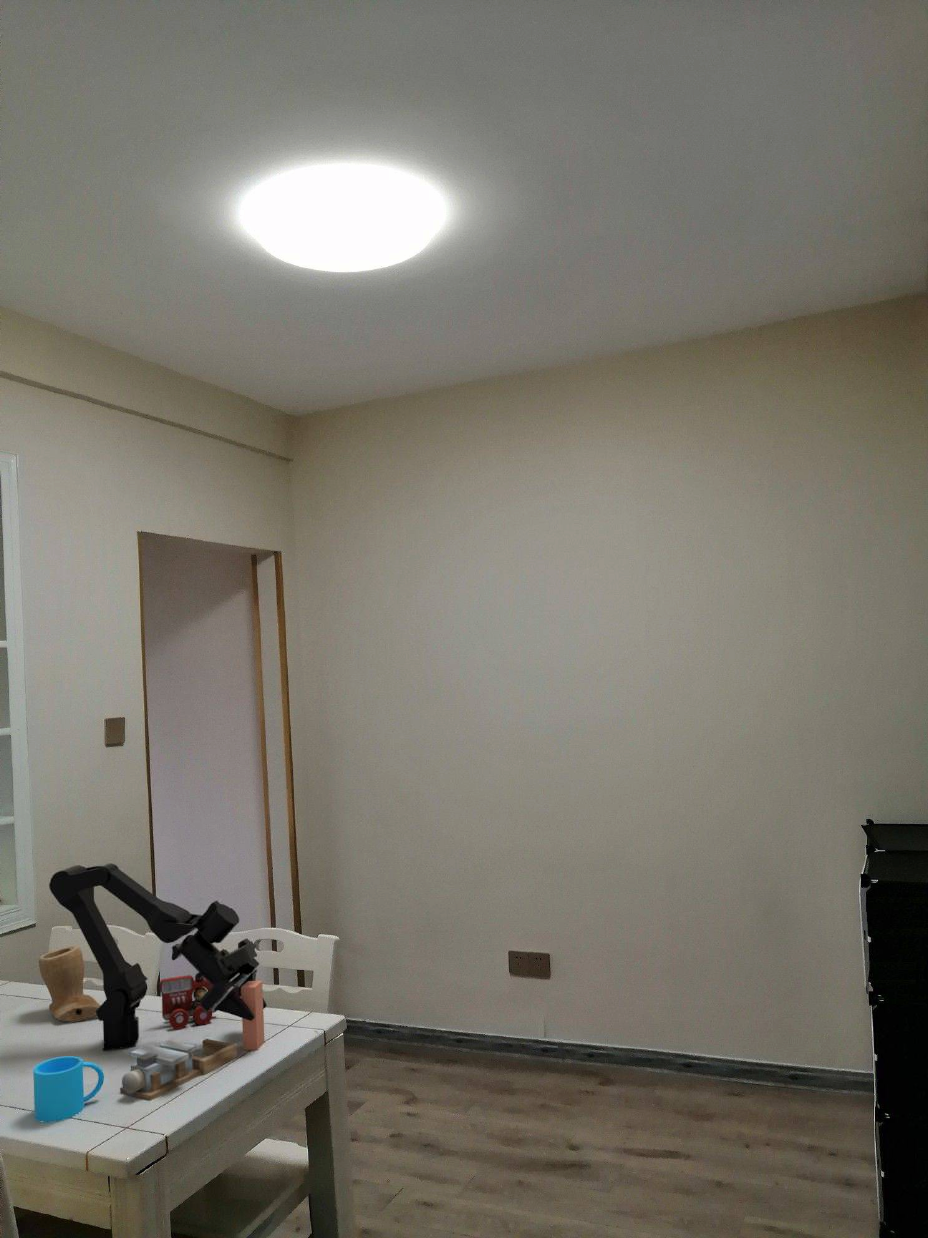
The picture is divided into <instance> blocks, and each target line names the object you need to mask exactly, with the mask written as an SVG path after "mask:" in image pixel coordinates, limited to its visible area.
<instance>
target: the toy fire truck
mask: <svg viewBox="0 0 928 1238" xmlns="http://www.w3.org/2000/svg"><path fill="white" fill-rule="evenodd" d="M198 973H199V972H198V971H197V973H196V974H195V975H194V977H193V976H192V975H189V974H188V975H187V974H186V975H182V976H181V975H180V976H176V977H169V978H167V977H166V978H162V979H161V980H160V981H159V982H158V983H159V989H158V990H159V993H161V1013H162V1014H161V1017H162V1019H163V1020H165V1021H168V1022H169V1025H170V1027H171V1028H173V1029H175V1030H182V1029H183V1028H185V1027H186V1026H187V1024H189V1019H190V1017H192V1018H193V1020H194V1022H195V1023H196V1024H198V1025H200V1026H203V1024H205V1025H206V1024H209V1023H210V1021H211V1020H212V1019H213V1014H214V1013H217V1011H215V1010H214V1009H215V1007H216V1006H217V1005H218V1004H217V1003H215V1005H214V1007H213V1008H212V1009H211V1010H210V1011H209V1012H207V1013H206V1012H205V1011H204V1010H203V1008H202V1007H201V1006H200V999H201V998H202V997H203V996H204V995H205V994H206V993H207V992H208V990H209V989H210V988H211V987H212V985H211V984H210V983H209V982H208V981H207V980H206V979H205V978H204V977H202V978H200V979H199V978H198V977H197V976H196V975H197V974H198ZM193 998H194V999H193ZM181 1028H182V1029H181Z"/></svg>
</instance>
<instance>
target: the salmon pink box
mask: <svg viewBox="0 0 928 1238" xmlns="http://www.w3.org/2000/svg"><path fill="white" fill-rule="evenodd" d="M263 993H264V992H263V981H262V980H256V981H248V982H247V983H245V984H244V985H243V986H242V987H241V999H242V1000H243V1001H244V1003H245V1004H246V1005H247V1006H248V1008H249V1009H250V1010H251V1012H252V1013H253V1015H254V1016H255V1018H254V1019H253V1020H252V1021H249V1020H247V1019H244V1018H241V1019H242V1021H241V1022H242V1023H241V1025H242V1049H244V1050H245V1051H252V1050H253V1051H258V1050H259V1049H260V1048H261V1047H262V1046H263V1044H265V1041H266V1040H265V1022H264V1021H265V1020H264V1018H265V1017H264V1009H263V998H264V996H263ZM248 1049H249V1050H248ZM250 1049H251V1050H250ZM244 1050H243V1051H244Z"/></svg>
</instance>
